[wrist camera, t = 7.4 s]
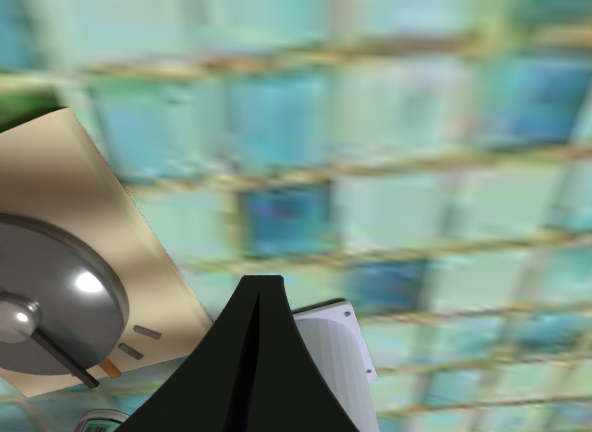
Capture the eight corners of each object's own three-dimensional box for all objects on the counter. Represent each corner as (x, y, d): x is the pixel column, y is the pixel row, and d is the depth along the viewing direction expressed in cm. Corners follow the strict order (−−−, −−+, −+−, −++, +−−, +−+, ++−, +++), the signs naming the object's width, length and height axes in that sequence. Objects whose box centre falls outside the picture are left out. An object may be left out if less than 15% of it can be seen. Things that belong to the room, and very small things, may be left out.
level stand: (219, 332, 25) (215, 350, 24) (40, 380, 28) (25, 400, 26) (69, 106, 17) (47, 113, 15) (-168, 204, 19) (-208, 219, 18)
